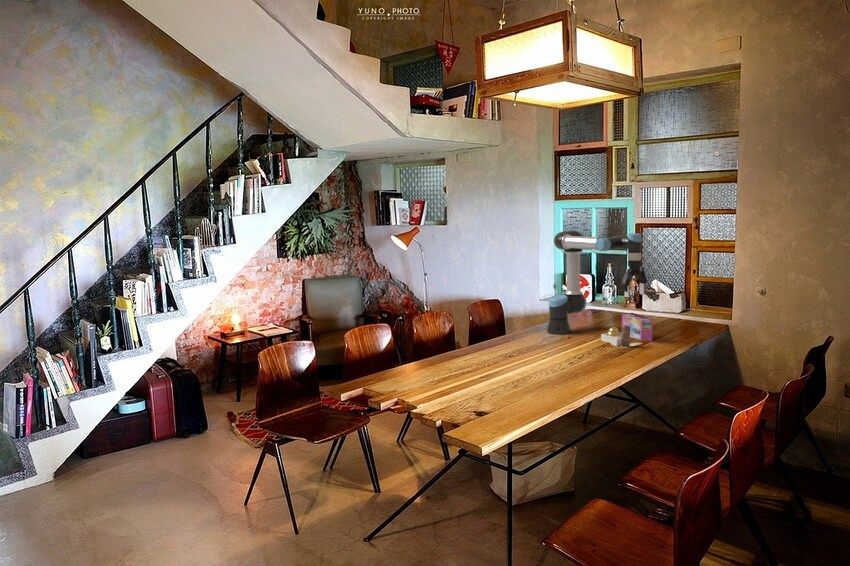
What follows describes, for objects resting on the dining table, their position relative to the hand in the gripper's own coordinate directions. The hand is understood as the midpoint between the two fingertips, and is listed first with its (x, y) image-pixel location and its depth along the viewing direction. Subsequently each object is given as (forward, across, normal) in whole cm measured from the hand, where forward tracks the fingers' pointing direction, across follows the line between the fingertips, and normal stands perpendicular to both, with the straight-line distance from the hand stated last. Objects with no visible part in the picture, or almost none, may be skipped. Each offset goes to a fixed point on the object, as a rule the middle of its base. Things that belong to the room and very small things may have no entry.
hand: (634, 295), depth 384 cm
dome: (+24, -12, +6) cm, 27 cm away
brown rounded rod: (+26, -17, -8) cm, 33 cm away
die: (+27, -18, -2) cm, 32 cm away
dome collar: (+27, -12, +6) cm, 30 cm away
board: (+28, -12, 0) cm, 30 cm away
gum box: (+28, +9, +5) cm, 30 cm away
